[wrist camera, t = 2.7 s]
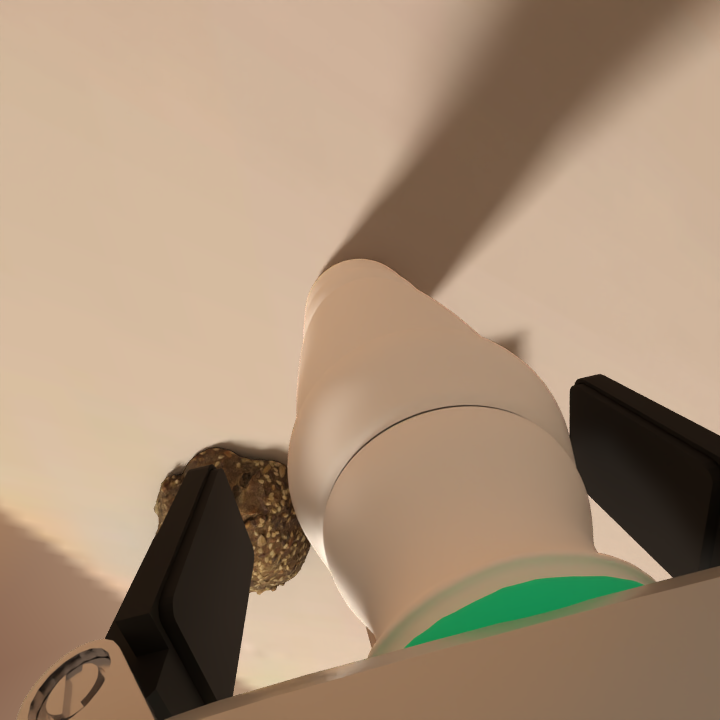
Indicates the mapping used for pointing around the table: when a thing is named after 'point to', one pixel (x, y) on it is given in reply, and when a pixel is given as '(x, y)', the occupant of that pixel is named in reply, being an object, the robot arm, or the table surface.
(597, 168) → the table surface
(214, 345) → the table surface
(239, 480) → the bread roll
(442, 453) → the water bottle
